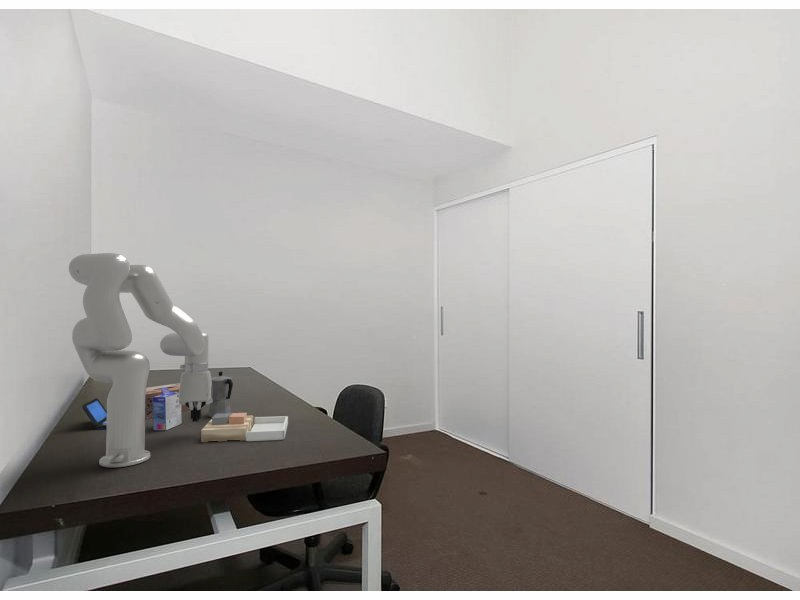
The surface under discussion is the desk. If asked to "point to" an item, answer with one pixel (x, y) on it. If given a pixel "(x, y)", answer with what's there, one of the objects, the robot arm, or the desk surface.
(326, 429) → the desk surface
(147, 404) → the tissue box cover
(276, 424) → the box
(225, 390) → the coffeepot
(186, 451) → the desk surface
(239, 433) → the plate
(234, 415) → the salmon pink block
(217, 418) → the slate tile
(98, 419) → the handheld game console
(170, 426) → the ink cartridge box
